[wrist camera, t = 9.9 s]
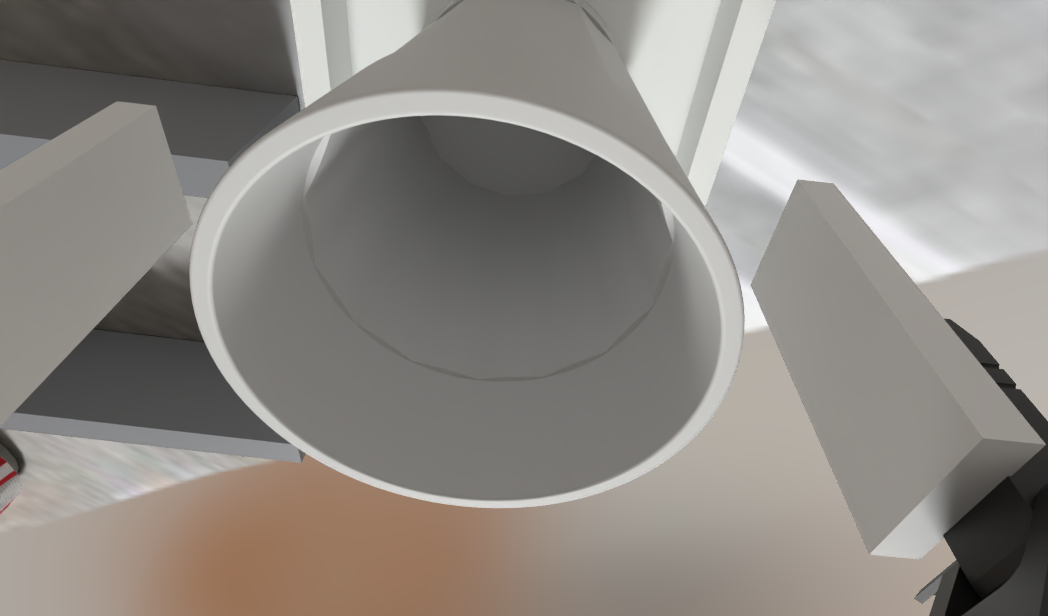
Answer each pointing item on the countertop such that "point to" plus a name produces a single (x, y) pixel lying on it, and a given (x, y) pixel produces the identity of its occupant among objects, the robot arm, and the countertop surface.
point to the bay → (130, 359)
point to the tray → (641, 39)
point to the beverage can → (8, 478)
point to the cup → (473, 269)
